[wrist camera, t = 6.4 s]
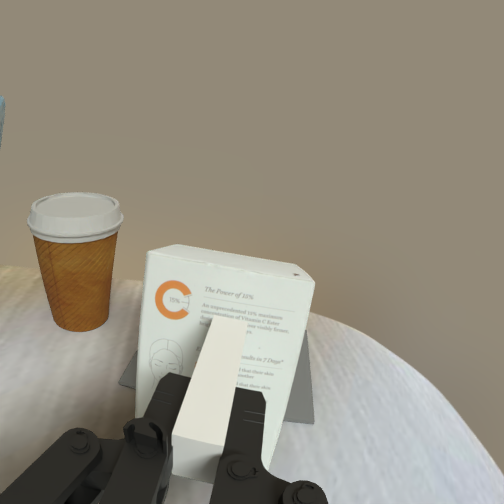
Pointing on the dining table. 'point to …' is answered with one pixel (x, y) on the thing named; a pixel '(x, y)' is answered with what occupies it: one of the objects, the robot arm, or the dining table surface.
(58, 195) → the disposable coffee cup
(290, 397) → the rubber mat
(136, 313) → the dining table surface
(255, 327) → the small box
